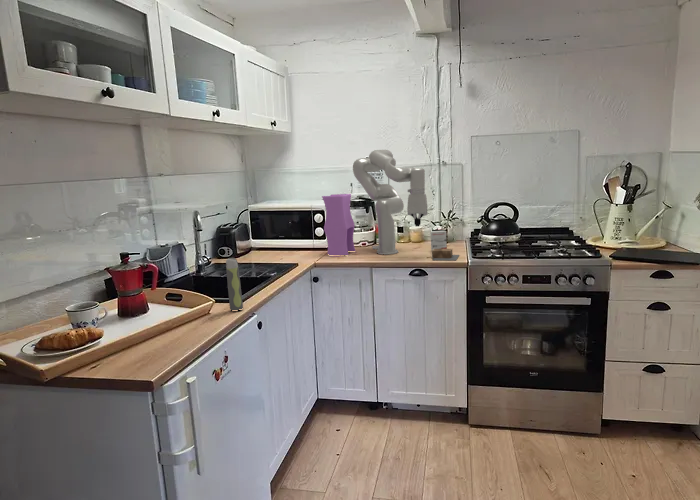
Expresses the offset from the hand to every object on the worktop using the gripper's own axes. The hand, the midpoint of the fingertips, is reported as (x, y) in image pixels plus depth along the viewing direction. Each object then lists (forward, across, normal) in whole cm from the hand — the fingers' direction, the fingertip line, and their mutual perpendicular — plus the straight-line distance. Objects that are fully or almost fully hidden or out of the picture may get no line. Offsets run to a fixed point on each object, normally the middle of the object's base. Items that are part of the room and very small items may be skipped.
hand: (417, 226), depth 256 cm
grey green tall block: (+17, -46, -104) cm, 116 cm away
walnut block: (+14, +8, -1) cm, 17 cm away
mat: (+16, +16, -1) cm, 23 cm away
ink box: (+18, +9, +18) cm, 26 cm away
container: (+20, -47, +8) cm, 52 cm away
